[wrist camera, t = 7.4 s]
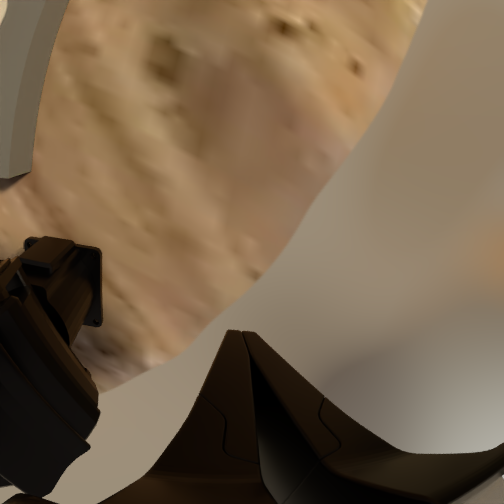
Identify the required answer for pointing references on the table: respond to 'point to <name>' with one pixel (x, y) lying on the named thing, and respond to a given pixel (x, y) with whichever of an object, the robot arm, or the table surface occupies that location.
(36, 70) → the console
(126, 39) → the table surface
